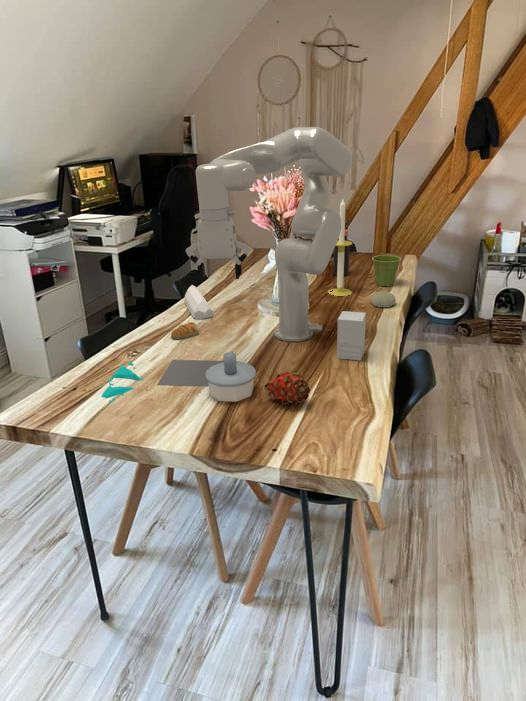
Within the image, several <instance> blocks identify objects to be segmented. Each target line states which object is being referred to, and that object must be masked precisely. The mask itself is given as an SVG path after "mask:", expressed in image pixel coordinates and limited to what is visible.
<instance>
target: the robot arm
mask: <svg viewBox="0 0 526 701" xmlns="http://www.w3.org/2000/svg"><path fill="white" fill-rule="evenodd" d="M352 158H353V157H352V154H351V151H350V149H349V147H347V146H346V145H345V144H344V143H343V142H341V141H340V140H339V139H338V138H337V137H335V136H334V134H332V133H331V132H330V131H328V130H326V129H325V128H322V127H320V126H309V127H308V126H299V127H298V126H297V127H292V128H289V129H287V130H286V131H285V130H284V131H283V132H281V133H279V134H277V135H275V136H272V137H271V138H268V139H267V140H264V141H261V142H257V143H255V144H251V145H248V146H244V147H241V148H238V149H234V150H232V151H228V152H226V153H225V154H222V155H220V156H218V157H216V158H214V159H213V160H212V161H210V162H209V163H206V164H205V163H204V164H199V165H198V166H197V167H196V169H195V177H196V178H195V179H196V190H197V198H198V206H199V218H200V219H199V220H198V221H197V223H198V224H197V242H196V243H194V244H192V245H191V246H188V247H187V248H186V249H185V253H186V255H187V256H188V257H189V260H191V262H193V263H194V264H195V266H196V267H197V274H198V275H197V276H198V277H200V281H204V280H205V278H206V272H205V263H204V260H216V259H217V260H218V259H219V260H221V259H223V260H226V259H231V260H232V261H233V262H234V263H235V265H234V273H235V280H239V279H240V277H241V276H242V275H243V272H242V270H243V269H242V263H243V262H244V261H245V260H246V258H248V254H249V253H250V251H251V246H250V245H248V244H245V243H243V242H242V241H239V240H237V239H238V238H237V232H236V227H235V226H236V225H235V222H234V219H233V218H232V217H231V216H234V215H235V214H236V212H235V209H232V208H230V206H229V192H243V191H247V190H249V189H250V188H251V187H253V185H254V184H255V182H256V179H257V175H267V174H273V173H276V172H278V171H280V170H282V169H284V168H286V167H287V166H289V165H292V164H293V163H295V162H297V161H299V167H300V170H301V173H302V177H303V181H304V187H303V193H302V195H301V198H300V200H299V203H298V206H297V208H296V210H295V213H294V215H293V218H292V222H291V231H292V232H293V234H294V235H296V236H298V237H301V238H306V239H310V240H311V241H310V240H305V239H299V238H293V237H292V238H291V237H290V238H288V237H287V238H284V239H282V240H280V241H279V242H278V243H277V245H276V246H275V249H274V261H275V266H276V270H277V271H276V272H277V280H278V325H279V326H278V328H276V329H275V330H274V337H276V338H277V339H278V340H281V341H284V342H291V343H293V342H302V341H303V342H304V341H306V340H309V339H311V338H312V337H313V335H314V332H322V331H323V325H319V323H312V322H310V320H311V319H310V318H309V278H308V276H307V274H308V275H320V274H322V273H323V272H324V271H325V270H326V268H327V267H328V264H329V262H330V260H331V258H332V255H333V254H334V248H335V246H336V243H337V241H338V238H339V235H340V232H341V227H342V221H341V217H340V212H338V211H336V210H335V209H332V208H328V205H329V203H330V200H331V188H330V185H329V183H328V180H327V177H335V178H336V177H343V176H345V175H346V174H348V173H349V172H350V169H351V167H352V164H353V159H352ZM238 249H241V250H242V251H243V253H242V254H241V255H239V254H238V252H239V251H238ZM195 250H197V252H198V256H199V257H197V256H196V254H194V252H193V251H195Z"/></svg>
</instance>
